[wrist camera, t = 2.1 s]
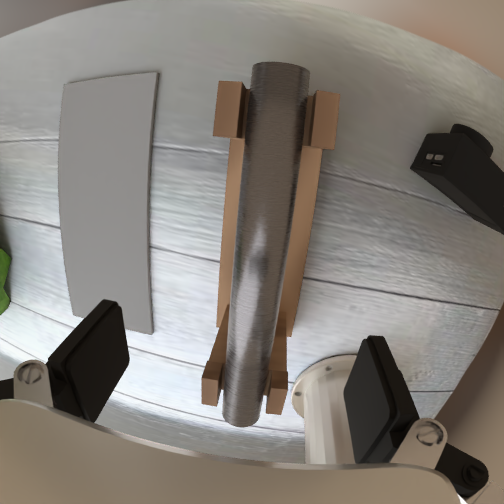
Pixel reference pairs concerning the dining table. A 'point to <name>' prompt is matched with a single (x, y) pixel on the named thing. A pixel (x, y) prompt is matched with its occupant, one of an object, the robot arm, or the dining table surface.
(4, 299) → the decorative tree
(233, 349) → the rod
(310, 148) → the rack
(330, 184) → the dining table surface
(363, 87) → the dining table surface
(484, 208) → the digital camera
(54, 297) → the dining table surface
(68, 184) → the mat
